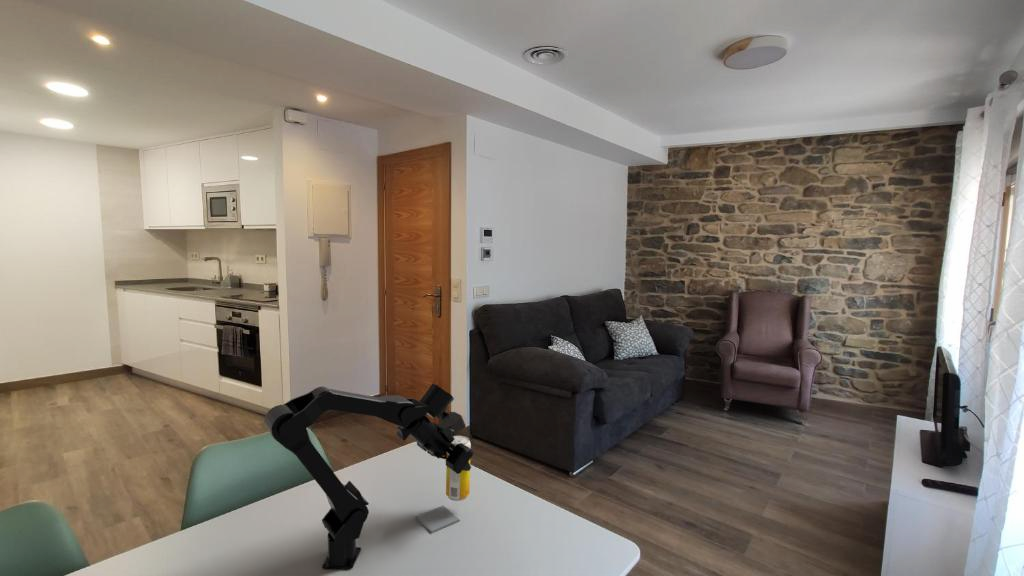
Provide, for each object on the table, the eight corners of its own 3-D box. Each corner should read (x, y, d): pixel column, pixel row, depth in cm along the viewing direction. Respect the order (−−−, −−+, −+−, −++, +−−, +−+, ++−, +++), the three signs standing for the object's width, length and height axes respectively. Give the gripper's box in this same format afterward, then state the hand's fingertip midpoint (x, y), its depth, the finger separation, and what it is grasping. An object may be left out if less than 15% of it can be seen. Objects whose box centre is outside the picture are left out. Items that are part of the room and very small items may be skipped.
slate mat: (431, 533, 112) (431, 531, 112) (415, 518, 118) (415, 516, 118) (459, 521, 117) (459, 519, 117) (443, 507, 123) (443, 505, 123)
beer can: (471, 490, 124) (472, 435, 122) (467, 502, 118) (468, 445, 116) (449, 488, 124) (450, 434, 123) (443, 501, 118) (444, 443, 117)
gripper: (467, 416, 109) (502, 450, 117) (427, 395, 123) (461, 427, 131) (437, 457, 105) (476, 489, 113) (400, 431, 119) (437, 461, 127)
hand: (462, 464), depth 121 cm, fingers closed on beer can, 6 cm apart
